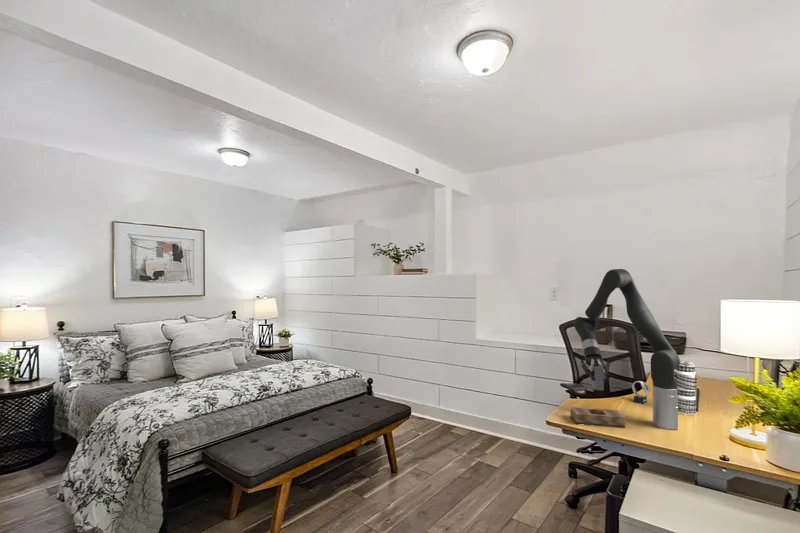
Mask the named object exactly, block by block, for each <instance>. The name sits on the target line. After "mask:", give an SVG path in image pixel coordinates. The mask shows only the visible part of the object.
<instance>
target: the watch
mask: <svg viewBox="0 0 800 533" xmlns="http://www.w3.org/2000/svg"><path fill="white" fill-rule="evenodd" d="M637 383H639V384H640V386H641V388H642V390H643V391H644V392H645V395H641V394H638V391H637V389H636V387H635V385H636V384H637ZM648 385H649V384H647V383H646V382H645V381H642V380H638V381H637V380H636V381H634V382H633V383H632V385H631V390H632V393H634V395H633V403H635V402H636V404H639V403H641V404H640V405H645V404H647V403H646V402H648V395H649V394H650V387H649V386H648ZM644 403H645V404H644Z"/></svg>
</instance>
